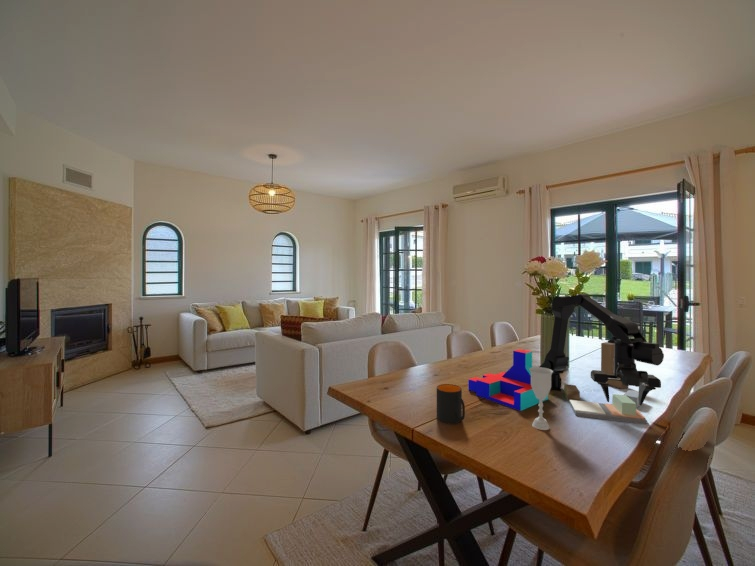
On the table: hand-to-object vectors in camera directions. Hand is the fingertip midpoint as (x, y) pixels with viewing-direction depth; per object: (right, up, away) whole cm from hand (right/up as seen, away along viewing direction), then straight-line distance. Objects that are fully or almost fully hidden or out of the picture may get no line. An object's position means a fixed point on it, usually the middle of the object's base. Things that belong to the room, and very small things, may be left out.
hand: (623, 403), depth 114 cm
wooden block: (+18, -3, +31) cm, 36 cm away
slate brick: (+11, -4, +10) cm, 15 cm away
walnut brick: (-8, -4, +17) cm, 19 cm away
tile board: (-5, -4, +2) cm, 7 cm away
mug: (-59, -5, -3) cm, 60 cm away
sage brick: (0, -2, 0) cm, 2 cm away
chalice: (-32, -5, -8) cm, 34 cm away
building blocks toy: (-33, -4, +20) cm, 39 cm away
